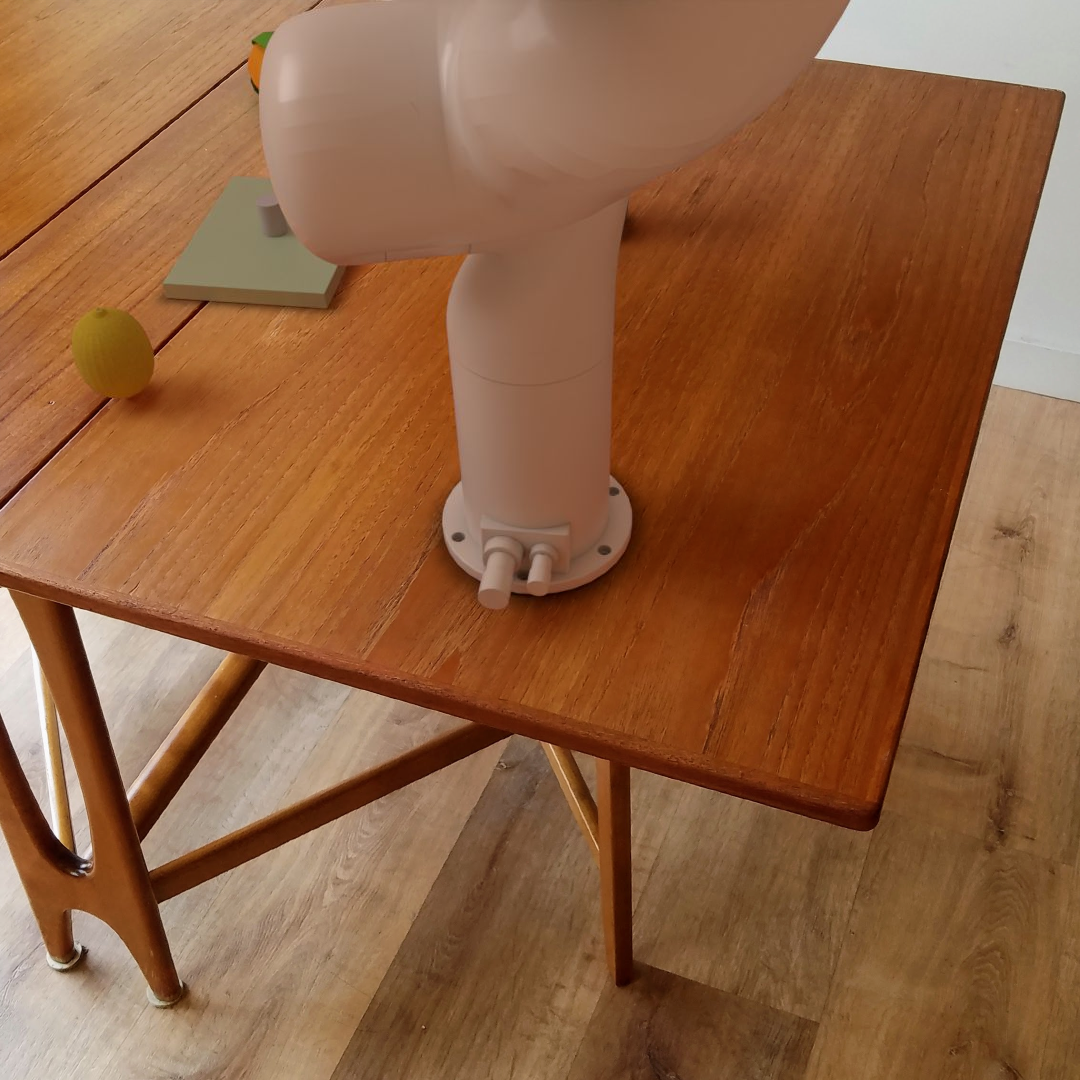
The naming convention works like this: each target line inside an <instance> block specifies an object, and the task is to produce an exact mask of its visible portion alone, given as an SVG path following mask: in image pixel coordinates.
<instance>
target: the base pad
mask: <svg viewBox="0 0 1080 1080" xmlns="http://www.w3.org/2000/svg"><path fill="white" fill-rule="evenodd" d="M347 267H348V266H340V265H334V264H331V263H328V262H326V261H324V260H322V259H320V258H318V257H317V256H315V255H313V254H312V253H311V252H309V251H308V250H307V249H306V248H305V247H304V246H303V245H302V243H301V242H300V241H299V240H298V238H297V237H296V235H295V234H294V232H293V231H292V229H291V227H290V226H289V224H288V222H287V220H286V218H285V216H284V214H283V212H282V210H281V208H280V205H279V203H278V201H277V198H276V195H275V193H274V190H273V186H272V183H271V180H270V177H254V176H239V175H238V176H236V175H235V176H234V175H233V176H232V177H231V178H230V180H229V181H228V183H227V184H226V186H225V187H224V189H223V190H222V192H221V193H220V195H219V196H218V198H217V200H216V201H215V202H214V204H213V206H212V207H211V209H210V210H209V212H208V213H207V214H206V216H205V218H204V219H203V221H202V222H201V224H200V225H199V226H198V228H197V230H196V231H195V233H194V234H193V236H192V237H191V239H190V241H189V242H188V244H187V245H186V246H185V248H184V250H183V251H182V253H181V254H180V256H179V257H178V258H177V260H176V262H175V263H174V265H173V266H172V268H171V269H170V271H169V272H168V274H167V275H166V277H165V278H164V280H163V281H162V282H161V283H162V286H163V290H164V293H165V297H166V298H167V299H177V300H190V301H192V300H193V301H204V302H205V301H206V302H220V303H221V302H222V303H236V304H237V303H238V304H251V305H266V306H281V307H295V308H296V307H297V308H311V309H325V310H326V309H328V308H329V306H330V305H331V302H332V299H333V297H334V295H335V293H336V291H337V289H338V286H339V285H340V282H341V280H342V278H343V276H344V274H345V272H346V269H347Z"/></svg>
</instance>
